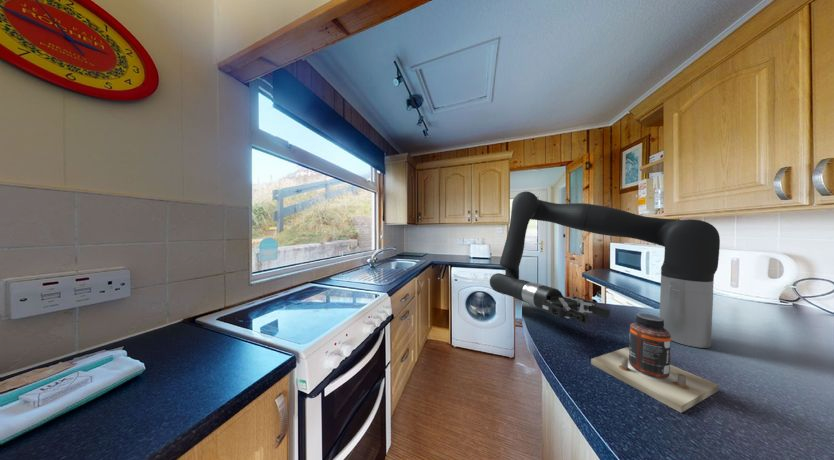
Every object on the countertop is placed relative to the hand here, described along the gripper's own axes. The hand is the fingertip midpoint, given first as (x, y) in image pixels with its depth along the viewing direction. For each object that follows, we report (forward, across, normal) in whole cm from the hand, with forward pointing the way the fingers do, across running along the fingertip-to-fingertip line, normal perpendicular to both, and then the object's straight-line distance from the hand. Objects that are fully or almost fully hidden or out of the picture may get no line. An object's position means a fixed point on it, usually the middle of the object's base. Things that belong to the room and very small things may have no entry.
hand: (598, 316), depth 55 cm
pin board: (+10, 0, +9) cm, 13 cm away
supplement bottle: (+10, 0, +8) cm, 12 cm away
